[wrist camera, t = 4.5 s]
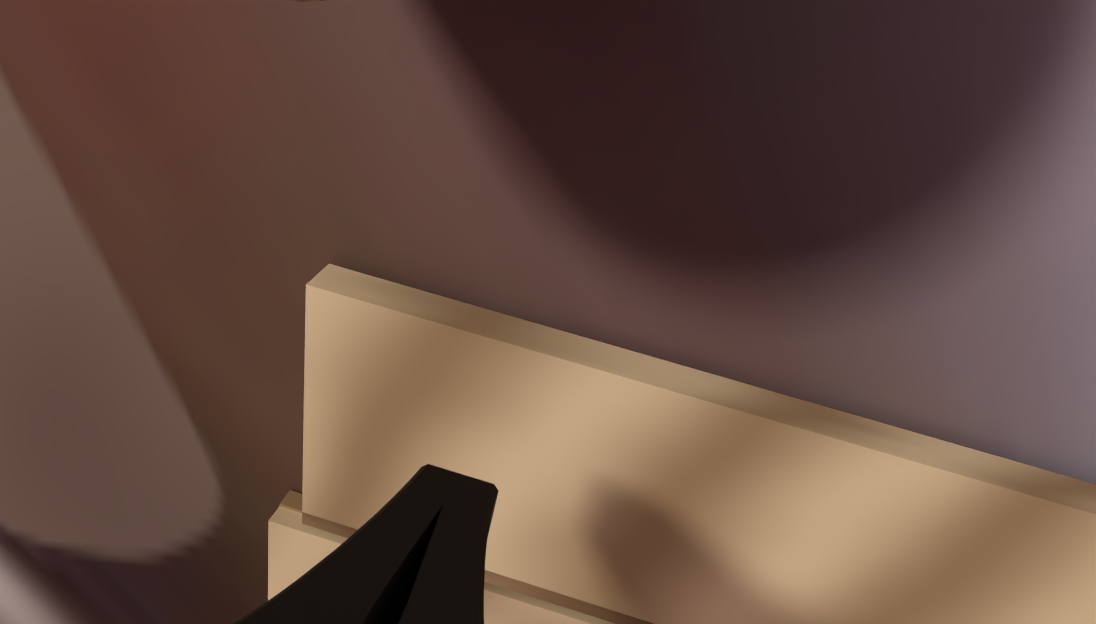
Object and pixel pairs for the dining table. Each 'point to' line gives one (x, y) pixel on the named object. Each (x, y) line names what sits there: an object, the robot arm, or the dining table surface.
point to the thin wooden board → (300, 547)
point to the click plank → (674, 478)
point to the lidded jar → (307, 0)
